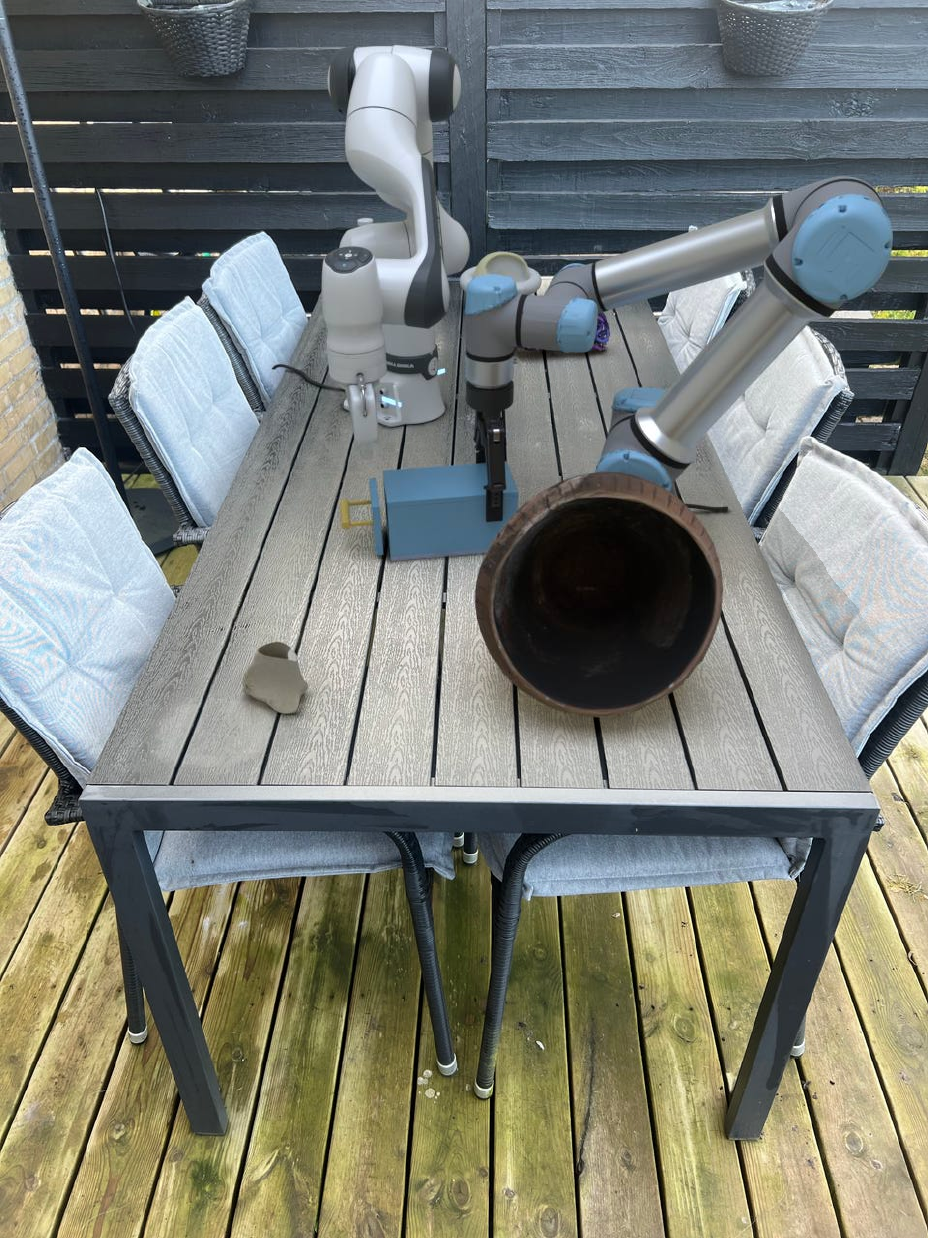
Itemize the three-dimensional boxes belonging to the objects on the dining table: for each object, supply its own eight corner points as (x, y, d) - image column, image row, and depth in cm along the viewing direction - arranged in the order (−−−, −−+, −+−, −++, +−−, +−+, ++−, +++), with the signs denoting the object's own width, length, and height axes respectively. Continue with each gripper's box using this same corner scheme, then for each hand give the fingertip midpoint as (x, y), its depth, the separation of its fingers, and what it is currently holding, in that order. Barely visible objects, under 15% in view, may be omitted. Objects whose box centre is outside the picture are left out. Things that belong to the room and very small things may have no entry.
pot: (520, 423, 138) (555, 432, 109) (702, 511, 144) (783, 542, 115) (430, 616, 144) (441, 674, 115) (608, 693, 150) (662, 767, 121)
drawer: (344, 558, 155) (339, 509, 149) (342, 528, 163) (337, 480, 157) (495, 545, 158) (495, 497, 152) (486, 516, 165) (486, 469, 160)
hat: (455, 295, 261) (454, 240, 252) (532, 292, 263) (534, 237, 254) (465, 327, 242) (464, 268, 233) (548, 323, 244) (550, 264, 235)
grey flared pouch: (308, 702, 131) (315, 635, 129) (297, 722, 124) (304, 652, 121) (246, 693, 131) (251, 626, 129) (231, 713, 124) (236, 642, 121)
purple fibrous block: (616, 330, 219) (490, 333, 216) (609, 367, 227) (487, 369, 225) (606, 296, 227) (484, 298, 224) (599, 332, 235) (482, 335, 233)
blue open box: (391, 561, 156) (386, 502, 149) (386, 527, 164) (382, 470, 158) (517, 550, 158) (518, 491, 151) (506, 517, 167) (507, 460, 160)
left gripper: (385, 387, 134) (390, 473, 142) (371, 337, 150) (377, 417, 158) (341, 390, 133) (349, 477, 141) (332, 340, 149) (340, 420, 158)
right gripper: (527, 410, 136) (523, 537, 149) (501, 350, 154) (499, 468, 168) (476, 413, 135) (477, 541, 149) (456, 353, 153) (458, 471, 167)
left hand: (364, 445), depth 150 cm, fingers open, 8 cm apart
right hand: (488, 502), depth 158 cm, fingers closed on blue open box, 11 cm apart
